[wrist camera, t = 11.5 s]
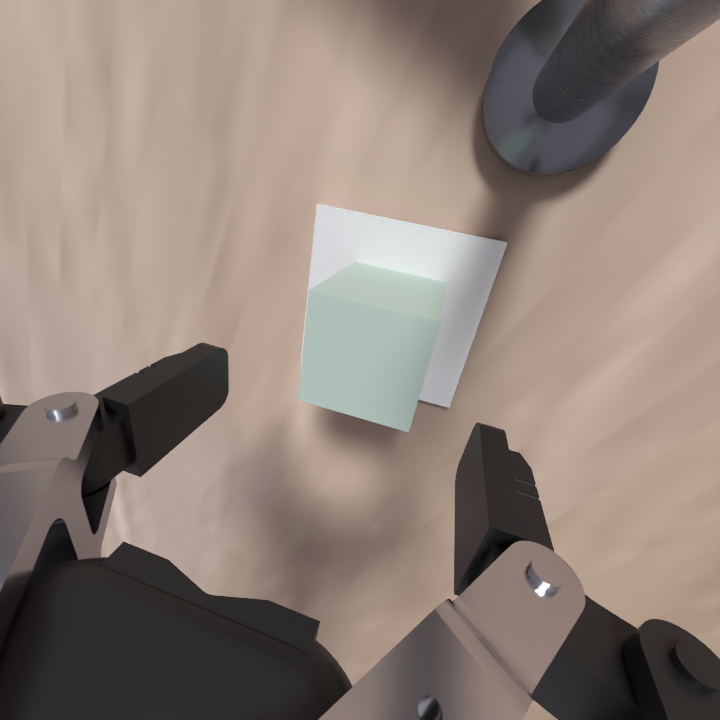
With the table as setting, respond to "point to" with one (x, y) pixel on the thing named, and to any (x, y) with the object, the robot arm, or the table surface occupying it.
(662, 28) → the metal post
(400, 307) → the green block
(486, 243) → the pad
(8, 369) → the table surface
